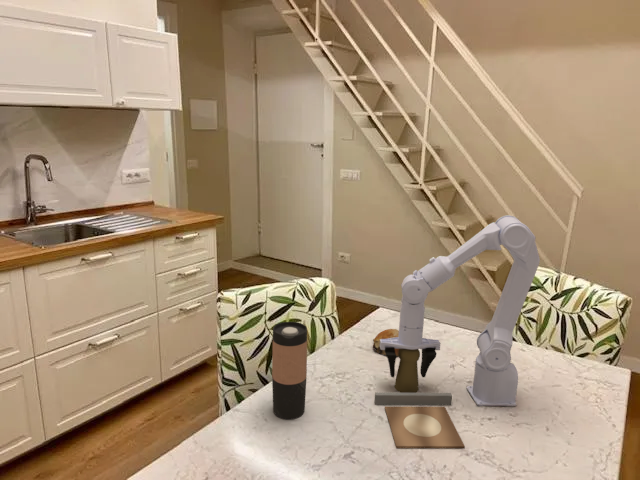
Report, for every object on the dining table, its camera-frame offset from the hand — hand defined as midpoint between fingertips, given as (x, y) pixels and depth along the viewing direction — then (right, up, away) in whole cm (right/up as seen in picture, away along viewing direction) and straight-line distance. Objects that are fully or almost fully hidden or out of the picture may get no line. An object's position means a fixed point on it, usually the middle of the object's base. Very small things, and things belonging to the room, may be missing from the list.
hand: (407, 375), depth 117 cm
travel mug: (-29, -5, -10) cm, 31 cm away
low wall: (0, -5, -6) cm, 8 cm away
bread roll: (-1, +1, +21) cm, 21 cm away
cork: (0, -4, +1) cm, 4 cm away
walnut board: (0, -7, -15) cm, 16 cm away
